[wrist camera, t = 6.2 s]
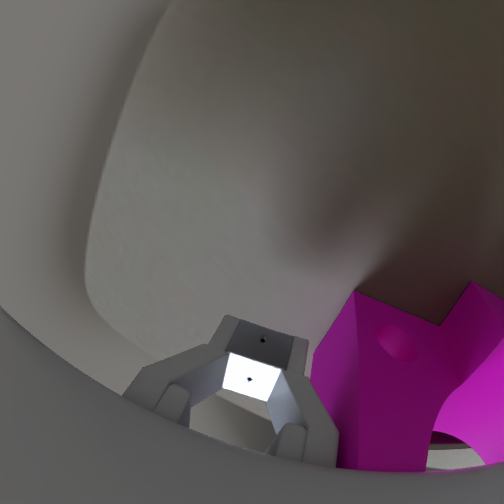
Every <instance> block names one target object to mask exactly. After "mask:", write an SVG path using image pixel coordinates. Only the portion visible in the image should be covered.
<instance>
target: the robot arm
mask: <svg viewBox="0 0 504 504" xmlns="http://www.w3.org/2000/svg"><path fill="white" fill-rule="evenodd" d="M308 344H309V341H308V340H307V339H303V338H299V337H296V336H294V337H293V336H291V335H288V334H284V333H281V332H278V331H274V330H271V329H268V328H265V327H262V326H259V325H256V324H253V323H250V322H248V321H245V320H242V319H238V318H236V317H233V316H230V315H225V316H224V318H223V319H222V321H221V323H220V325H219V327H218V328H217V330H216V332H215V334H214V335H213V337H212V339H211V341H210V342H209V344H208V345H206V344H202V345H199V346H197V347H194V348H192V349H189V350H187V351H184V352H182V353H179V354H177V355H174V356H172V357H169V358H167V359H164V360H162V361H159V362H156V363H154V364H151V365H149V366H146V367H143V368H142V370H141V371H140V372H139V373H138V375H137V376H136V377H135V379H134V380H133V381H132V383H131V384H130V386H129V387H128V388H127V389H126V391H125V392H124V394H123V395H122V396H121V395H119V394H117V393H115V392H114V391H112V390H110V389H109V388H107V387H105V386H104V385H102V384H100V383H99V382H97V381H95V380H94V379H92V378H91V377H89V376H88V375H86V374H84V373H83V372H81V371H80V370H78V369H77V368H75V367H74V366H72V365H71V364H70V363H68V362H67V361H65V360H64V359H63V358H61V357H60V356H59V355H57V354H56V353H55V352H53V351H52V350H51V349H49V348H48V347H47V346H45V345H44V344H43V343H42V342H40V341H39V340H38V339H36V338H35V337H34V336H33V335H32V334H31V333H29V332H28V331H27V330H26V329H25V328H24V327H22V326H21V325H20V324H19V323H18V322H17V321H16V320H15V319H13V317H11V316H10V315H9V314H8V313H7V312H6V311H5V310H4V309H3V308H2V307H1V306H0V504H504V461H502V462H498V463H493V464H488V465H483V466H477V467H470V468H463V469H454V470H444V471H430V472H378V471H363V470H352V469H343V468H336V460H337V451H338V441H339V431H338V429H337V428H336V426H335V424H334V422H333V421H332V419H331V417H330V415H329V414H328V412H327V410H326V408H325V406H324V405H323V403H322V401H321V399H320V398H319V396H318V394H317V392H316V390H315V389H314V387H313V385H312V383H311V382H310V380H309V378H308V377H306V376H304V371H305V364H306V358H307V351H308ZM221 387H222V388H225V389H228V390H231V391H234V392H238V393H241V394H244V395H247V396H250V397H253V398H256V399H259V400H262V401H265V402H266V405H267V408H268V411H269V414H270V417H271V420H272V423H273V426H274V429H275V432H276V435H277V436H276V437H275V438H274V440H273V441H272V442H271V444H270V445H269V447H268V448H267V449H266V451H265V452H264V453H261V452H257V451H254V450H250V449H246V448H243V447H240V446H237V445H234V444H231V443H227V442H224V441H222V440H218V439H216V438H213V437H210V436H208V435H205V434H202V433H200V432H197V431H194V430H192V429H189V421H190V409H191V407H193V406H194V405H196V404H197V403H199V402H201V401H202V400H204V399H206V398H207V397H209V396H211V395H212V394H214V393H215V392H217V391H218V390H220V389H221Z"/></svg>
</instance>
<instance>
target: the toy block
mask: <svg viewBox="0 0 504 504" xmlns="http://www.w3.org/2000/svg"><path fill="white" fill-rule="evenodd" d="M310 382H311V383H312V385H313V387H314V389H315V390H316V392H317V394H318V396H319V398H320V399H321V401H322V403H323V405H324V406H325V408H326V410H327V412H328V414H329V415H330V417H331V419H332V421H333V422H334V424H335V426H336V428H337V429H338V431H339V441H338V451H337V460H336V468H343V469H352V470H363V471H378V472H426V463H427V456H428V449H429V444H430V440H431V435H432V431H438V432H443V433H447V434H449V435H452V436H454V437H456V438H458V439H460V440H462V441H463V442H465V443H466V444H468V445H469V446H470V447H471V448H472V449H473V450H474V451H476V452H477V454H478V455H479V456H480V457H481V458H482V460H483V461H484V462H485V464H486V465H488V464H493V463H498V462H502V461H504V300H503V299H501V298H500V297H498V296H496V295H495V294H493V293H491V292H490V291H488V290H486V289H485V288H483V287H481V286H480V285H478V284H476V283H474V282H473V281H471V282H470V283H469V285H468V286H467V288H466V289H465V291H464V293H463V294H462V296H461V297H460V299H459V300H458V301H457V303H456V304H455V306H454V307H453V309H452V310H451V311H450V313H449V314H448V316H447V317H446V318H445V320H444V321H443V322H442V324H441V325H440V326H438V325H435V324H433V323H431V322H428V321H426V320H423V319H421V318H419V317H416V316H414V315H411V314H409V313H406V312H404V311H402V310H399V309H397V308H394V307H392V306H390V305H387V304H385V303H382V302H380V301H377V300H375V299H373V298H370V297H368V296H365V295H363V294H360V293H358V292H356V291H353V292H352V294H351V296H350V297H349V299H348V301H347V302H346V304H345V306H344V307H343V309H342V311H341V312H340V314H339V315H338V317H337V318H336V320H335V322H334V323H333V325H332V326H331V328H330V329H329V331H328V332H327V334H326V336H325V337H324V339H323V340H322V342H321V343H320V344H319V346H318V347H317V349H316V350H315V352H314V354H313V362H312V369H311V376H310Z"/></svg>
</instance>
